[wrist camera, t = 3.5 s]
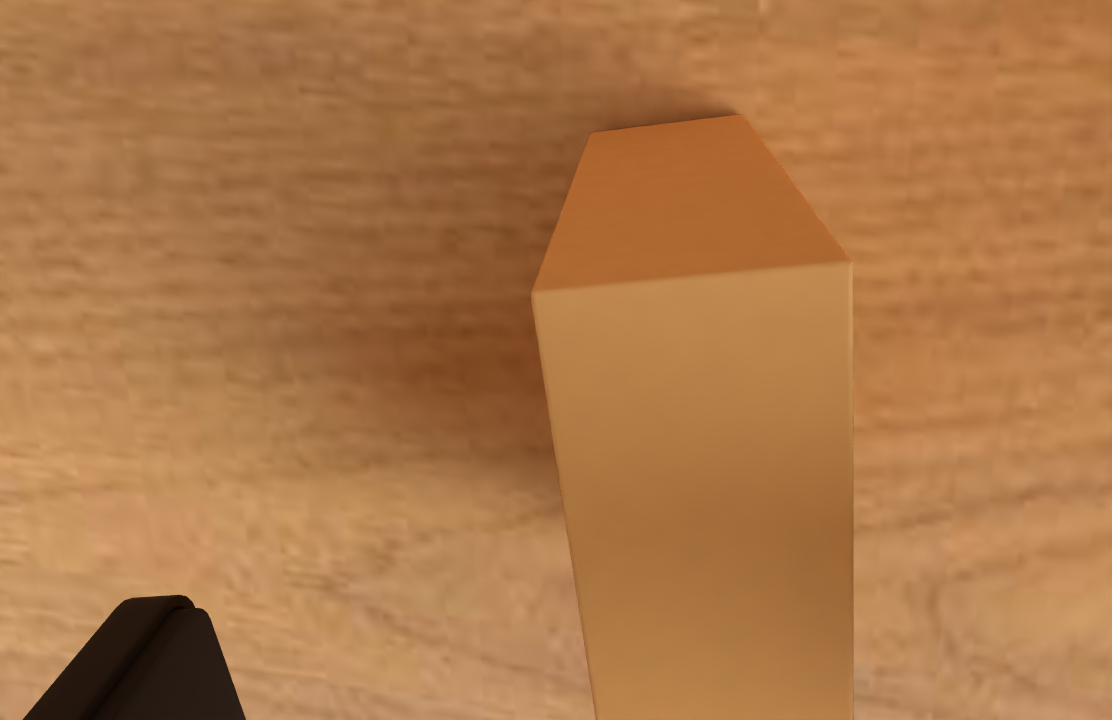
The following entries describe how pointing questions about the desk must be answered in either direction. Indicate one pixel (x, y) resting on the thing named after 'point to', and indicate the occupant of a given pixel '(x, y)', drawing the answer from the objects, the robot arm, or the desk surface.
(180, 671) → the robot arm
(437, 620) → the desk surface
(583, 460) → the toast
